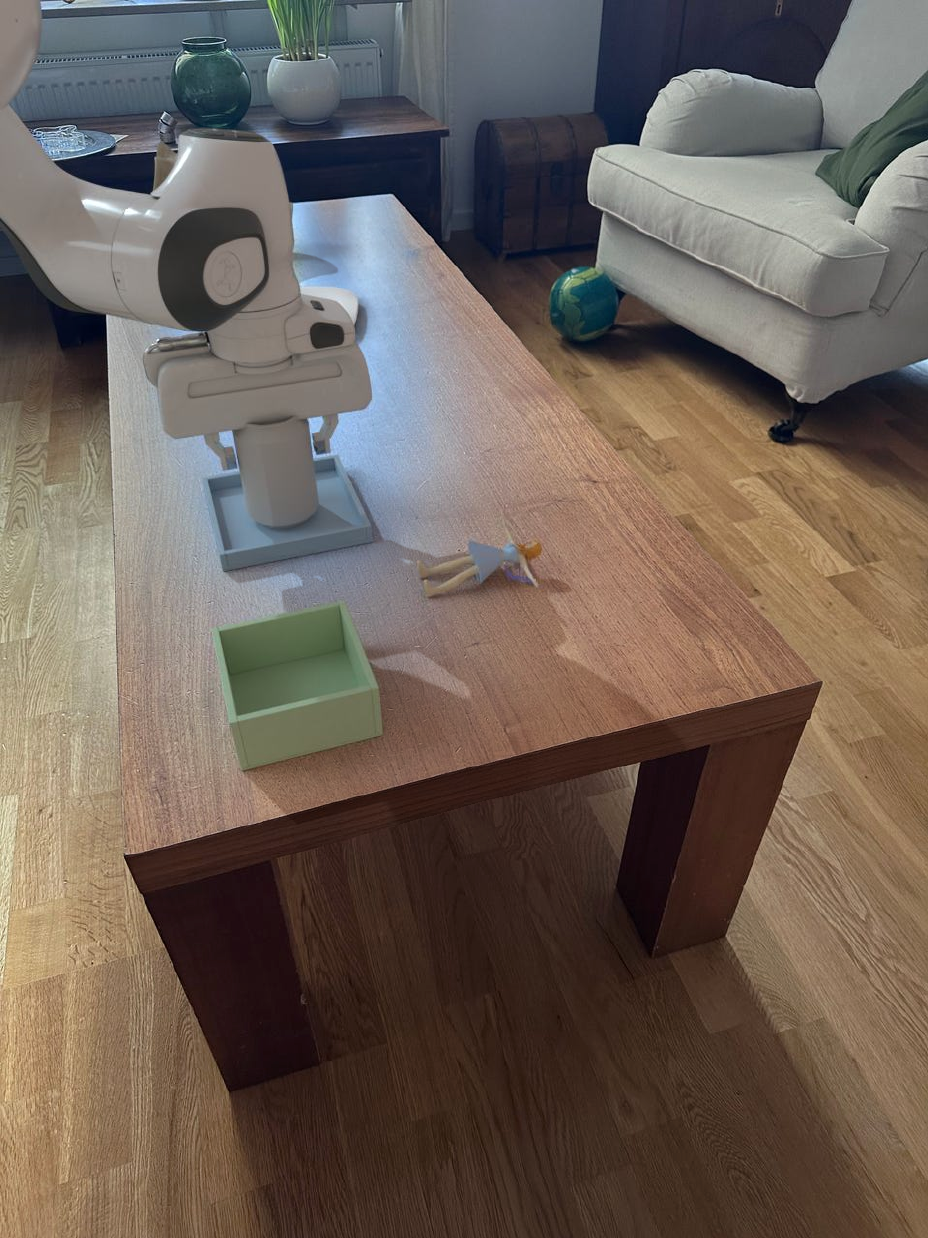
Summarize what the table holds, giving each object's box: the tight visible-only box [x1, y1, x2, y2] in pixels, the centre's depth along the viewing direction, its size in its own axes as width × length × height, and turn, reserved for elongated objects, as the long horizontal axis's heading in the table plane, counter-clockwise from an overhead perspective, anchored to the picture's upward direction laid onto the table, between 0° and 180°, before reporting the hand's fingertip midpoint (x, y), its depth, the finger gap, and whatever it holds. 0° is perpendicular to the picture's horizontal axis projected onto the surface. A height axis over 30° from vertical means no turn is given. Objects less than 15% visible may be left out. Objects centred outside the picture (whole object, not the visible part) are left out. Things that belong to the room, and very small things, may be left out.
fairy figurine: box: [416, 516, 543, 598], centre depth 85 cm, size 12×5×12 cm
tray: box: [201, 454, 374, 572], centre depth 93 cm, size 15×15×2 cm
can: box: [231, 415, 319, 529], centre depth 90 cm, size 8×8×12 cm
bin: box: [210, 599, 384, 772], centre depth 71 cm, size 11×11×5 cm
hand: (276, 459), depth 89 cm, fingers open, 8 cm apart
